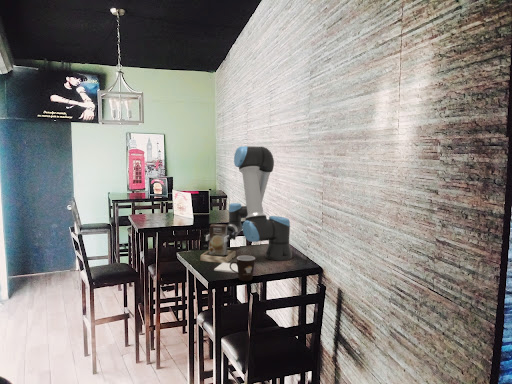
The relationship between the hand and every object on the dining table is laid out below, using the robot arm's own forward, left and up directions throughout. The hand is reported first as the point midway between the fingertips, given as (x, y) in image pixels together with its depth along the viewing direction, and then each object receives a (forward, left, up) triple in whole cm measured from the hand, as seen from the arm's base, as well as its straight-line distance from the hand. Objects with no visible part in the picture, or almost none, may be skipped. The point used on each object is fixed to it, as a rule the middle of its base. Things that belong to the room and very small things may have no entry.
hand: (215, 239), depth 208 cm
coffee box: (0, -4, -9) cm, 10 cm away
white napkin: (-13, +11, -12) cm, 21 cm away
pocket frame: (0, -4, -12) cm, 12 cm away
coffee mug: (-23, +24, -12) cm, 36 cm away
